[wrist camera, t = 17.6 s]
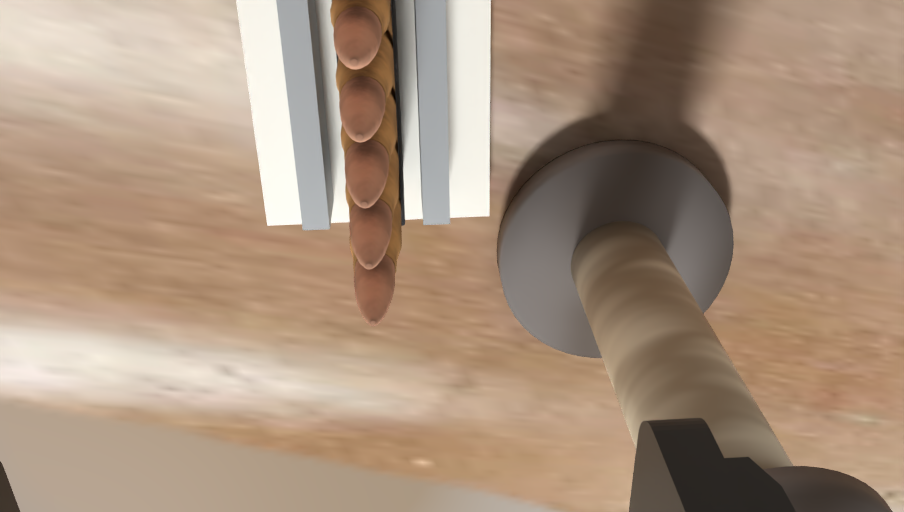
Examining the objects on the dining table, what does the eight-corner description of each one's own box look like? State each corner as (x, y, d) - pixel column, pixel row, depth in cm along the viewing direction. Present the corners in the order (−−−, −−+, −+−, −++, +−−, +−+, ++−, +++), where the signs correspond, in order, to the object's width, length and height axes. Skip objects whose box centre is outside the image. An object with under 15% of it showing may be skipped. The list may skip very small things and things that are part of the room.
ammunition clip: (403, 172, 33) (409, 351, 23) (356, 175, 33) (341, 354, 23) (389, -124, 28) (389, -69, 17) (333, -122, 28) (299, -67, 17)
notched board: (487, -203, 28) (501, -201, 25) (485, 200, 36) (495, 245, 32) (217, -198, 28) (192, -195, 24) (272, 209, 35) (258, 255, 32)
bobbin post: (737, 135, 35) (1034, 435, 19) (705, 333, 40) (919, 706, 24) (498, 144, 34) (592, 460, 18) (495, 344, 39) (569, 732, 23)
